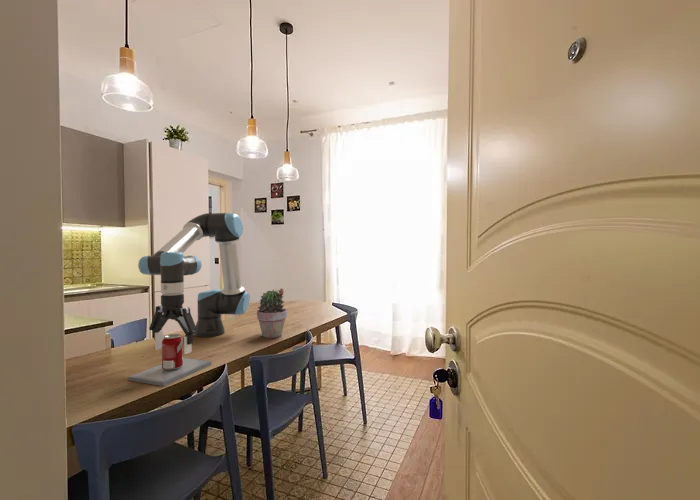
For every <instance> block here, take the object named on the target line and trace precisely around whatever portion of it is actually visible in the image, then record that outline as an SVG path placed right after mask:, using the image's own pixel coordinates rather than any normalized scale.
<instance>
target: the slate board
mask: <svg viewBox="0 0 700 500" xmlns="http://www.w3.org/2000/svg"><path fill="white" fill-rule="evenodd" d="M211 365H212V361H211V360H203V359H202V360H201V359H196V358H195V359H194V358H189V357H188V358H186V357H183V365H182V367H180V368H179V369H177V370H172V371H166V370H164V369H162V363H160V364H158V365H155V366H153V367H150V368H148V369H144V370H142V371H139V372H137V373H134V374H132V375H129V376H128V377H127V381H131V382H136V383H142V384H147V385H148V384H149V385H154V386H155V385H156V386H161V387H166V386H168V385H170V384H172V383H174V382H176V380H177V381H178V379H179V380H180V379H183V378H184V377H187V376H189V375H192V374H193V373H196V372H198V371H200V370H202V369H205V368H207V367H209V366H211ZM169 383H170V384H169ZM167 384H168V385H167ZM165 385H166V386H165Z"/></svg>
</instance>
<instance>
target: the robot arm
mask: <svg viewBox="0 0 700 500" xmlns="http://www.w3.org/2000/svg"><path fill="white" fill-rule="evenodd" d="M243 226H244V225H243V222H242V219H241V217H240V216H239V215H238V214H236V213H234V212H233V213H232V212H217V213H216V212H213V213H211V212H210V213H209V212H207V213H203V214H200V215H197V216H195V217H194V218H191V219H190V220H189V221H187V222H186V223H185V224H184V225H183V227H182V230H180V231H179V232H178V233H177V234H175V236H173V237H172V238H171V239H170V240H169V241H167V242H166V243H165V244H164V245H163V246H162V247H161V248H159V250H157V251H156V252H155V253H154V254H153V255H146V256H145V255H143V256H141V258H140V259H139V261H138V264H137V265H138V266H137V267H138V269H139V272H140V273H141V274H142V275H147V276H148V275H150V276H160V294H161V295H160V305H157V306H155V312H154V315H153V318H152V320H151V322H150V326H149V327H148V328H149V331H153V340H154V346H155V347H154V348H155V349H154V350H155V351H159V350H162V341H163V339H164V333H163V332H164V331H163V327H164V326H165V325H166V323H167V322H168V320H172V321H175V322H176V323H178V325H179V327H180V328H181V329H182V331H183V333H184V334H185V335H183V351H184V352H183V354H184V355H187V354H190V353H192V352H193V351H192V346H193V345H192V344H193V343H194V342H193V341H194V340H193V339H194V338H193V337H194V336H195V337H198V338H209V337H216V336H221V335H223V334H225V333H226V331H225V326H224V323H223V320H222V315H236V316H237V315H244V314H245V313H246V312H247V311H248V309H249V306H250V299H251V298H250V294H249V292H247V291H246V290H245V289H246V288H245V287H244V286H243V285H242V279H241V271H240V263H239V254H238V253H239V251H238V241H239V240H240V237H241V236H242V235H243V232H244V231H243V230H244V229H243V228H244V227H243ZM207 237H214V241H215V243H217V244H218V248H219V257H220V263H221V264H220V266H221V272H222V282H223V289H221V288H220V289H219V288H218V289H211V290H204V291H200V292H199V293H198V294H197V300H196V301H197V321H196V324H195V322H194V320H193V316H192V313H191V308H190V307H189V306H187V307H183V305H184V303H185V294H184V292H185V284H184V283H185V282H184V279H185V278H184V277H185V276H192V275H195V274H197V273H199V272H200V271H201V269H202V261H201V259H200V258H199V257H198V256H196V255H195V256H194V255H184V253H185V252H186V251H187V249H189V248H190V247H191V246H192V245H193V244H194V243H195V242H197V241H200V240H201V239H202V238H207Z"/></svg>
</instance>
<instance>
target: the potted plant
mask: <svg viewBox="0 0 700 500" xmlns="http://www.w3.org/2000/svg"><path fill="white" fill-rule="evenodd" d="M260 297H261V298H260V300H259V301H258V303H259V304H260V305H259V306H258V307H255V308H253V309H258V310H256V318H257V320H258V323H259V328H260V331H261V336H262V337H263V338H266V339H274V338H279V337H281V336H282V335H283V330H284V325H285V323H286V319H287V318H288V310H287V309H288V308H284V307H285V304H284V303H285V301H284V300H283V297H284V288H280V289H279V290H278V289H276V290H274V289H272V290H267V291H266V292H263V293H262V295H261V296H260ZM255 304H257V302H255V303H254V305H255Z"/></svg>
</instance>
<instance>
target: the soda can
mask: <svg viewBox="0 0 700 500" xmlns="http://www.w3.org/2000/svg"><path fill="white" fill-rule="evenodd" d="M183 351H184V338H183V337H182V335H181V334H179V333H172V334H171V333H170V334H166V335H163V341H162V349H161V364H162V369H164V370H166V371H172V370H177V369H179V368H180V367H182V365H183V358H184V357H183V354H184V352H183Z"/></svg>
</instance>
